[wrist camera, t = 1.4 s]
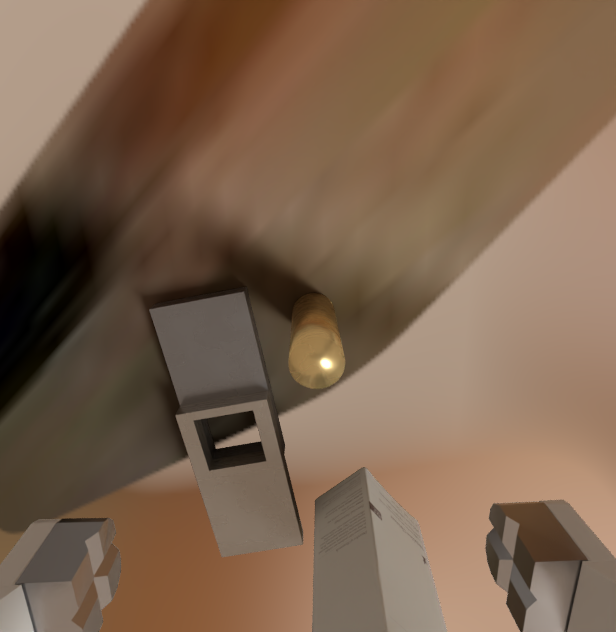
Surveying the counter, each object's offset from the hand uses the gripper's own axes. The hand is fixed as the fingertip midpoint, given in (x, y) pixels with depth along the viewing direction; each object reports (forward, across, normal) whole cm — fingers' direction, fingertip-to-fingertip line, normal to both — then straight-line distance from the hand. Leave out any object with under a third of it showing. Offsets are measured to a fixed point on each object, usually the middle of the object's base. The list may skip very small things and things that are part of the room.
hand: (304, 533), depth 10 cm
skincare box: (+25, -6, +21) cm, 33 cm away
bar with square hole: (+25, +5, +12) cm, 28 cm away
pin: (+24, -1, +3) cm, 25 cm away
